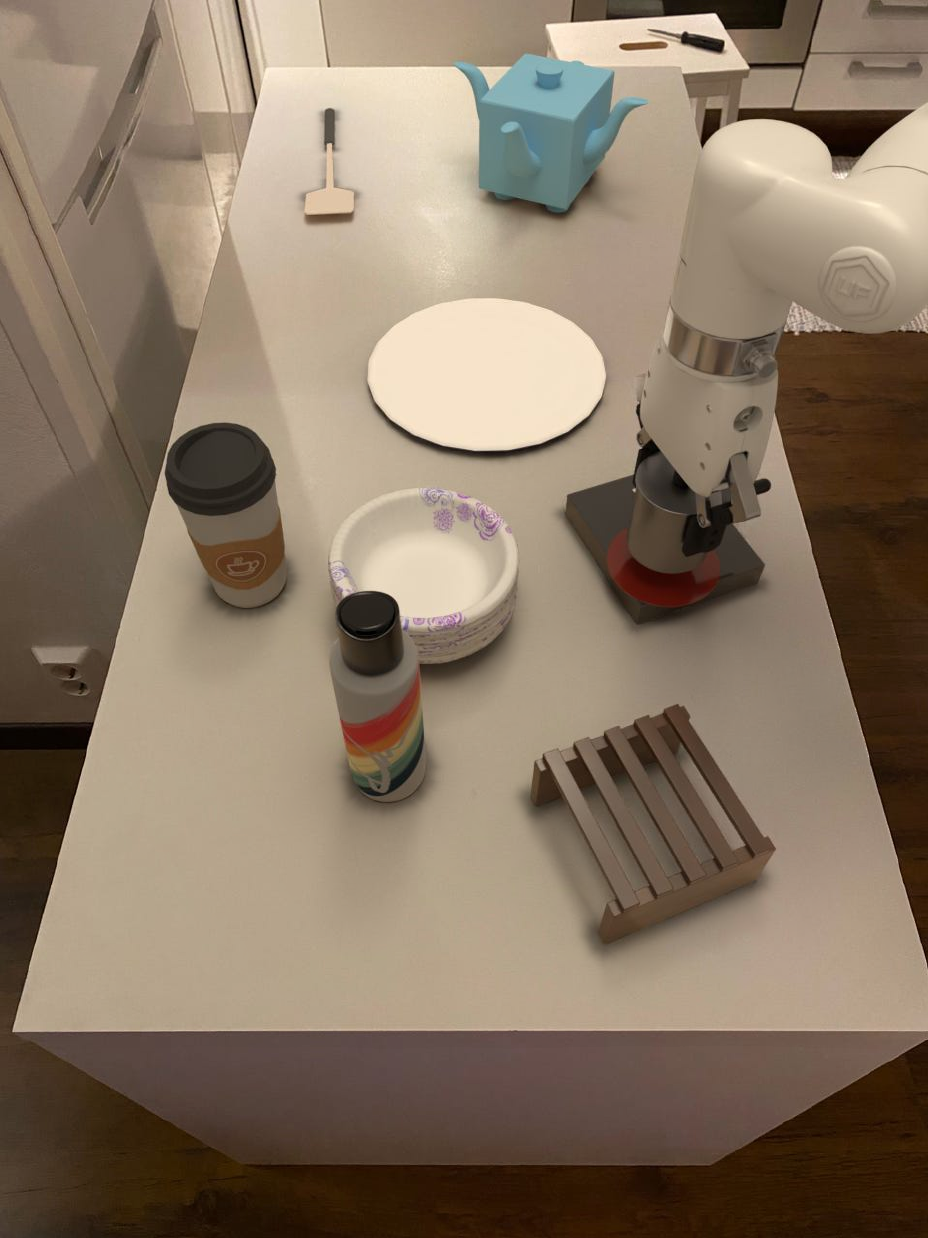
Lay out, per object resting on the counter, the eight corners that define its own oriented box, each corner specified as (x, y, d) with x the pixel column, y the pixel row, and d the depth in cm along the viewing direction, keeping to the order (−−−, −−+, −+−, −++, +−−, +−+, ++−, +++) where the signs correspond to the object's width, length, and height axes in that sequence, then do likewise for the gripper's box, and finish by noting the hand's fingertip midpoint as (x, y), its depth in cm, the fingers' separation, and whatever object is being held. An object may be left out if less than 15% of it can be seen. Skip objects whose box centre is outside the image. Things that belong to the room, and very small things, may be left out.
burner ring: (683, 509, 85) (683, 508, 85) (741, 586, 79) (741, 586, 79) (587, 540, 83) (587, 539, 82) (640, 621, 77) (640, 620, 77)
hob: (686, 456, 92) (691, 436, 90) (780, 575, 83) (789, 555, 81) (554, 496, 89) (556, 476, 87) (637, 625, 80) (641, 605, 78)
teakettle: (576, 142, 130) (586, 23, 119) (638, 210, 120) (657, 87, 108) (447, 167, 126) (445, 47, 115) (500, 239, 116) (503, 115, 104)
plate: (422, 286, 110) (421, 277, 109) (631, 334, 104) (633, 324, 103) (327, 422, 96) (325, 412, 95) (564, 485, 90) (565, 475, 89)
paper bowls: (526, 557, 85) (531, 494, 78) (501, 699, 76) (504, 641, 69) (360, 536, 86) (352, 472, 80) (317, 673, 77) (303, 613, 71)
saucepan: (608, 525, 80) (621, 453, 74) (736, 485, 83) (759, 412, 76) (649, 586, 76) (667, 516, 70) (782, 542, 79) (811, 470, 72)
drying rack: (671, 742, 73) (685, 700, 68) (756, 880, 66) (779, 845, 62) (530, 795, 70) (534, 756, 66) (604, 945, 64) (615, 913, 59)
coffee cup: (205, 627, 80) (159, 502, 68) (201, 554, 85) (158, 425, 73) (304, 610, 81) (276, 484, 69) (294, 539, 86) (266, 410, 74)
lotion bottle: (349, 804, 70) (314, 648, 54) (353, 737, 73) (322, 571, 58) (426, 803, 70) (414, 647, 54) (427, 736, 74) (416, 571, 58)
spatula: (305, 225, 118) (304, 213, 117) (308, 113, 135) (307, 102, 134) (354, 222, 118) (353, 211, 117) (351, 111, 136) (350, 100, 135)
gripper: (850, 394, 58) (774, 578, 72) (703, 247, 68) (661, 435, 82) (745, 426, 56) (688, 608, 71) (610, 270, 66) (584, 457, 80)
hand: (674, 513), depth 76 cm, fingers closed on saucepan, 7 cm apart
